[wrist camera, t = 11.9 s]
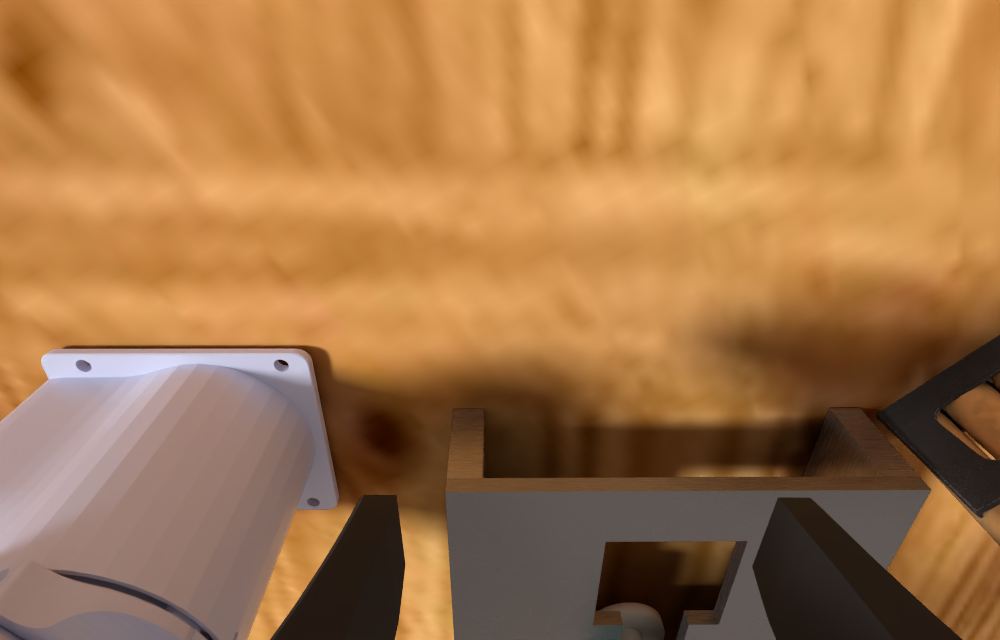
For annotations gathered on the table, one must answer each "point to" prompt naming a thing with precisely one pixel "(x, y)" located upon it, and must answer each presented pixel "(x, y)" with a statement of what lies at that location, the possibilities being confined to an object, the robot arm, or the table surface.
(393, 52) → the table surface
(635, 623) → the peg
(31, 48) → the table surface
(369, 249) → the table surface
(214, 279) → the table surface
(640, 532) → the keyhole plate
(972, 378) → the ammunition clip
